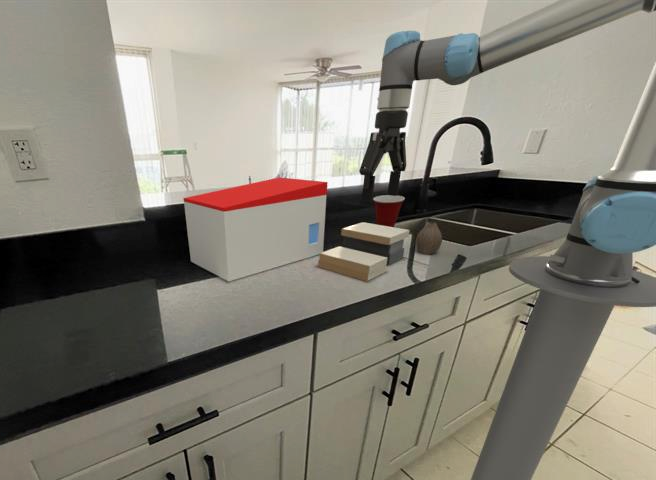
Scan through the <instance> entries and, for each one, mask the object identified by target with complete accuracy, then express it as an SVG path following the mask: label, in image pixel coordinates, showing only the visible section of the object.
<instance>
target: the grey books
mask: <svg viewBox="0 0 656 480" xmlns="http://www.w3.org/2000/svg"><path fill="white" fill-rule="evenodd" d="M342 237H343V238H342V247H344V248H348V249H353V250H357V251H361V252H365V253H370V254H374V255H378V256H382V257H387V265H386V266H390V265H392V264H395V263H396V262H398V261H400V260H403V258H404V254H405V253H404V252H405V248H404V242H405V239H402V240H400V241H397V242H395V243H393V244H390V245H385V244H381V243H376V242H371V241H366V240H361V239H356V238H352V237H347V236H342Z"/></svg>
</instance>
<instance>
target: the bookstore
mask: <svg viewBox="0 0 656 480" xmlns="http://www.w3.org/2000/svg"><path fill="white" fill-rule="evenodd" d="M327 195H328V181H322V180H320V181H319V180H311V179H302V178H301V179H300V178H289V177H279V176H278V177H275V178H270V179H266V180H265V179H264V180H261V181H257V182H251V183H247V184H241V185H238V186H233V187H229V188H223V189H219V190H215V191H210V192H205V193H201V194H200V193H199V194H195V195H191V196H187V197H183V205H184V214H185V222H186V231H187V239H188V247H189V256H190V262H191V263H193V264H195V265H197V266H198V267H200V268H202V269H204V270H206V271H208V272H210V273H212V274H214V275H215V276H218V277H219V278H221V279H223V280H225V281H227V282H231V281H236V280H238V279H242V278H244V277H248V276H251V275H254V274H258V273H261V272H265V271H268V270H271V269H274V268H279V267H281V266H285V265H288V264H292V263H295V262H298V261H302V260H305V259H308V258H312V257H315V256H318V255H320V253H322V252H324V243H325V241H324V240H325V227H326V225H325V224H326V208H327Z"/></svg>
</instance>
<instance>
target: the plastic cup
mask: <svg viewBox="0 0 656 480" xmlns="http://www.w3.org/2000/svg"><path fill="white" fill-rule="evenodd" d="M405 199H406V198H405V197H404V196H402V195H397V196H391V195H387V194H386V195H384V194H383V195H378V196H375V197H373V199H372V201H373V202H374V207H375V222H376V225H382V226H388V227H394V228H395V225H396V222H397V220H398V216H399V213H400V211H401V208H402V205H403V202H404V201H405Z"/></svg>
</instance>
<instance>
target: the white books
mask: <svg viewBox="0 0 656 480" xmlns="http://www.w3.org/2000/svg"><path fill="white" fill-rule="evenodd" d="M317 262H318V263H317V267H318V268H321V269H324V270H328V271H330V272H334V273H338V274H341V275H344V276H348V277H351V278H354V279H357V280H361V281H364V282H368V281H370V280H372V279H375V278H376V277H378V276H381V275H382V274H384V273H385V272H386V269H387V266H388V265H387V257H382V256H378V255H374V254H370V253H365V252H361V251H357V250H353V249H348V248H344V247H343V246H340V245H339V246H336V247H334V248H330V249H327V250H325V251H323V252H322V253H320V254H319V258H318V261H317Z"/></svg>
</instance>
